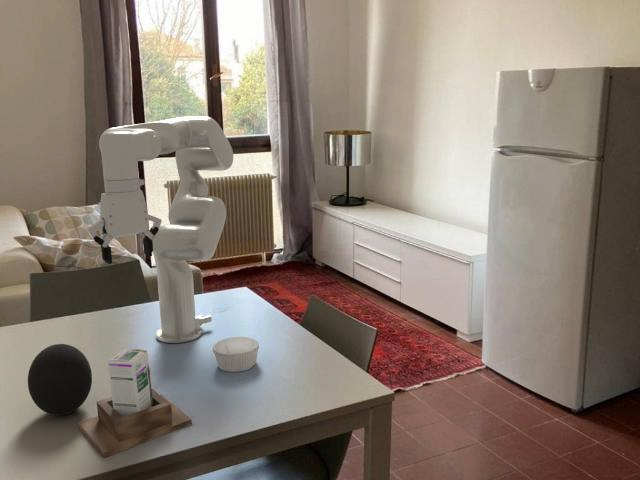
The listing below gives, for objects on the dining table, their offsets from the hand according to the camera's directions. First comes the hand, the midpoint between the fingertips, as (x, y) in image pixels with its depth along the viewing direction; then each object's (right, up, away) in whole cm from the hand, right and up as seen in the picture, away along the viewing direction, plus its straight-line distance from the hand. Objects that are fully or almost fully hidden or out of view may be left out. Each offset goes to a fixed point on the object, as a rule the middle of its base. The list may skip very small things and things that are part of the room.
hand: (128, 258), depth 139 cm
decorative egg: (-10, -32, -12) cm, 36 cm away
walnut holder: (+7, -33, -18) cm, 39 cm away
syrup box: (+7, -33, -18) cm, 38 cm away
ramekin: (+24, -27, +9) cm, 37 cm away
